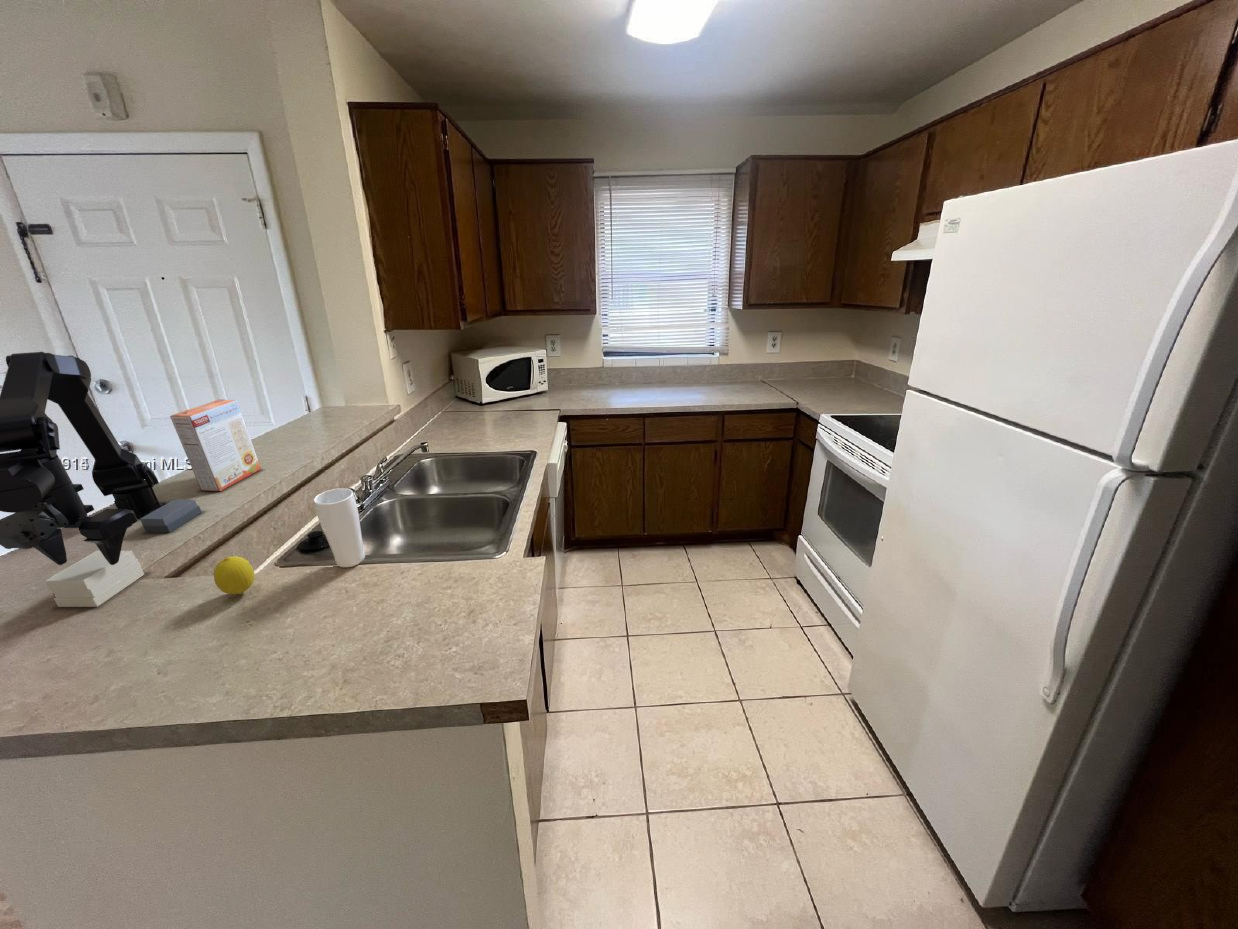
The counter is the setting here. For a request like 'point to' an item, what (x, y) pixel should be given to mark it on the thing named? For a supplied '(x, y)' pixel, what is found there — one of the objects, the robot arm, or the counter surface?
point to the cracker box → (216, 444)
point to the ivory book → (88, 572)
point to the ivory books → (100, 588)
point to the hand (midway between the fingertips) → (88, 563)
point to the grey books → (170, 516)
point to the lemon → (233, 575)
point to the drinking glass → (341, 525)
